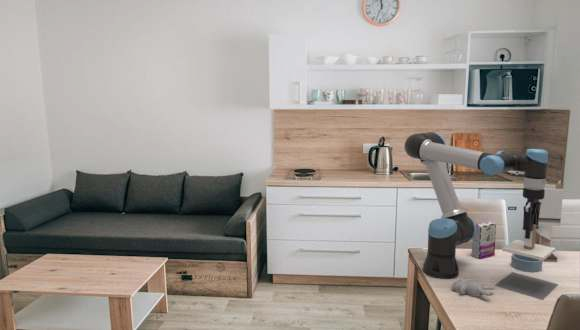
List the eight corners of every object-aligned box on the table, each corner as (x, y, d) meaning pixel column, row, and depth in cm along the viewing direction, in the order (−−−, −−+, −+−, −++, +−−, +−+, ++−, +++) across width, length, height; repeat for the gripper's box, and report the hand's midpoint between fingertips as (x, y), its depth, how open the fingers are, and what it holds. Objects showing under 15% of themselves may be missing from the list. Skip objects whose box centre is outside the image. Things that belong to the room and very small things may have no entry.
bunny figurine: (456, 275, 178) (495, 280, 169) (457, 287, 179) (496, 293, 170) (448, 283, 171) (489, 289, 162) (449, 296, 171) (490, 302, 162)
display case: (530, 260, 205) (536, 188, 200) (523, 252, 215) (528, 184, 210) (556, 262, 203) (563, 189, 197) (548, 254, 213) (554, 185, 208)
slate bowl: (522, 274, 189) (523, 262, 188) (505, 264, 200) (506, 253, 200) (547, 273, 190) (548, 261, 189) (529, 263, 202) (530, 251, 201)
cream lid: (543, 260, 164) (545, 232, 162) (502, 250, 175) (504, 224, 173) (555, 251, 174) (557, 224, 172) (515, 242, 185) (517, 216, 183)
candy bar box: (486, 252, 216) (488, 220, 214) (494, 255, 212) (496, 223, 210) (470, 256, 211) (472, 224, 209) (479, 259, 207) (481, 226, 204)
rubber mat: (542, 301, 163) (542, 300, 163) (493, 287, 176) (494, 285, 176) (558, 286, 177) (558, 284, 177) (512, 273, 190) (512, 272, 190)
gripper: (537, 192, 162) (532, 252, 166) (551, 186, 173) (545, 242, 177) (516, 189, 168) (511, 247, 171) (530, 183, 178) (526, 238, 182)
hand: (529, 244), depth 174 cm, fingers closed on cream lid, 3 cm apart
